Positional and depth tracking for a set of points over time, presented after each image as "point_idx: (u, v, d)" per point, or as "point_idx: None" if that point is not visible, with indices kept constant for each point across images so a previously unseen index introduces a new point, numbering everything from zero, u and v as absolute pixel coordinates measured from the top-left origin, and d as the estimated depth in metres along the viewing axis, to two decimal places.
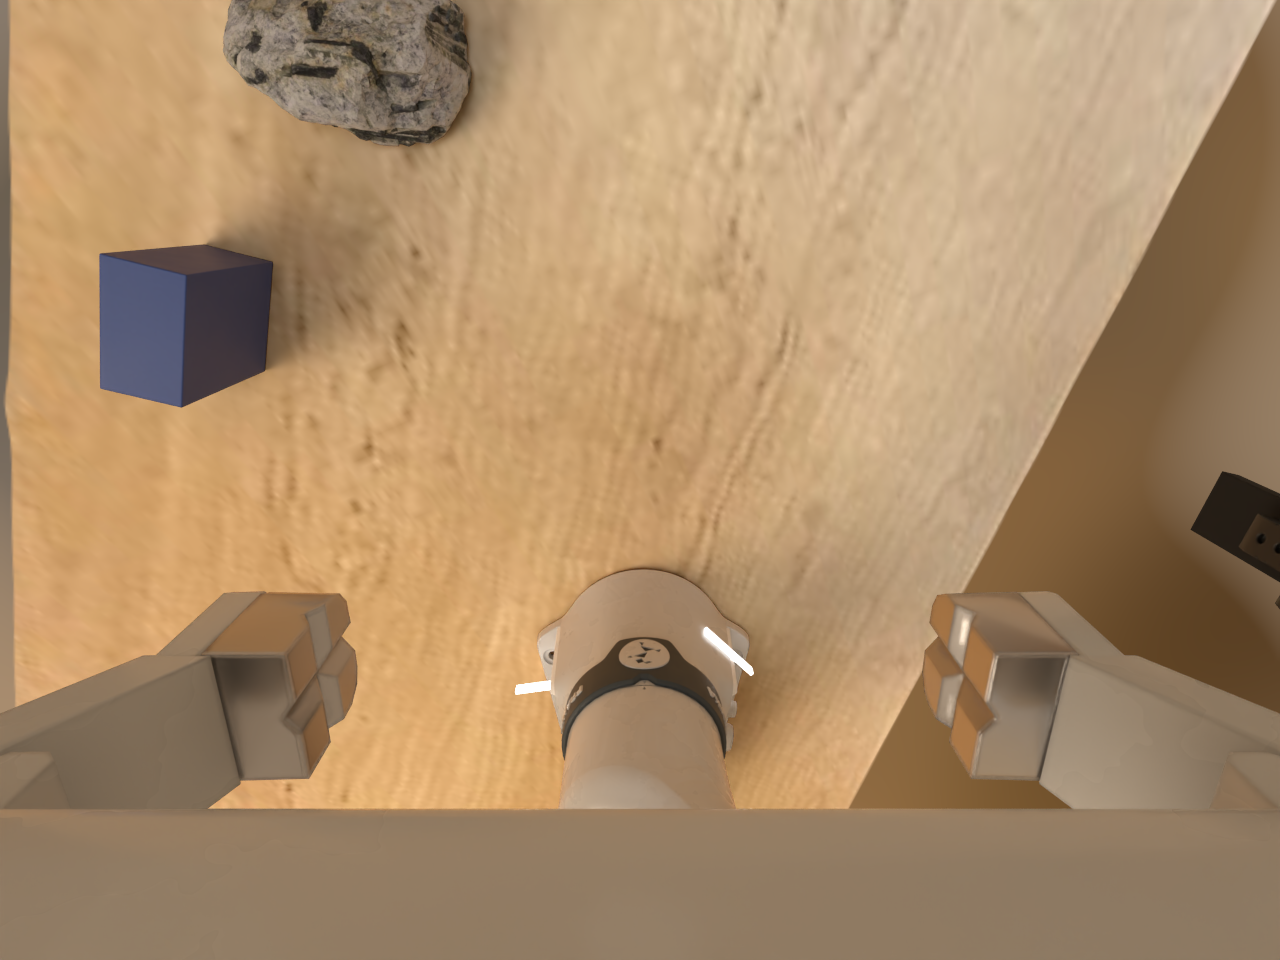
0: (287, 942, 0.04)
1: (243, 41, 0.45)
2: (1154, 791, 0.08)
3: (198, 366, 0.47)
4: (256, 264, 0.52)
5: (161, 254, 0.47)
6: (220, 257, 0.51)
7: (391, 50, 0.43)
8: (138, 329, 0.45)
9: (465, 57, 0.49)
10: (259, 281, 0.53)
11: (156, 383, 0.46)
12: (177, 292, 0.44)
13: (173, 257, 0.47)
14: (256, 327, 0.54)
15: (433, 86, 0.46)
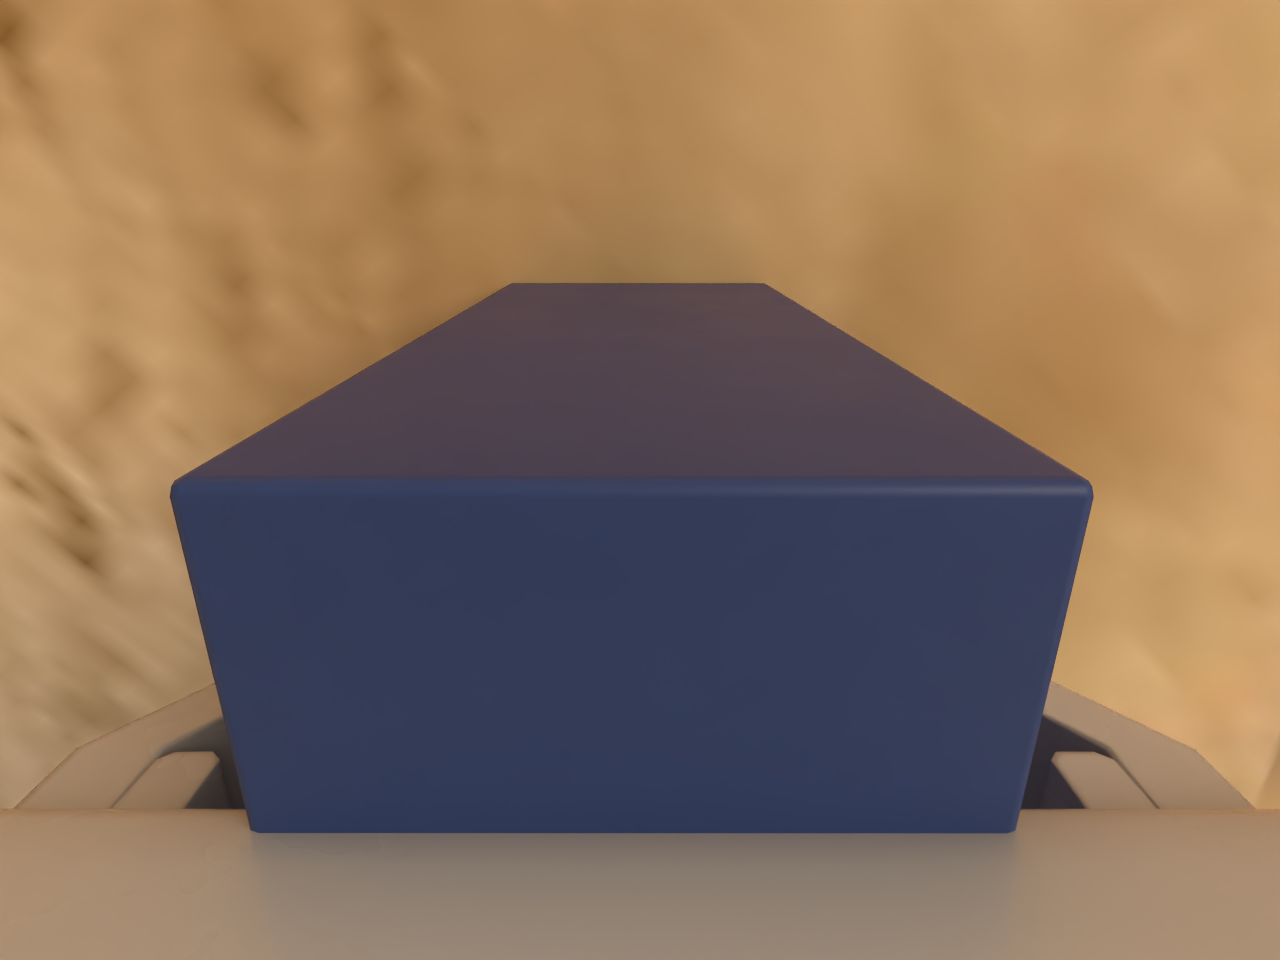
0: (287, 942, 0.04)
1: None
2: None
3: None
4: None
5: None
6: None
7: None
8: None
9: None
10: None
11: (476, 676, 0.04)
12: None
13: None
14: None
15: None
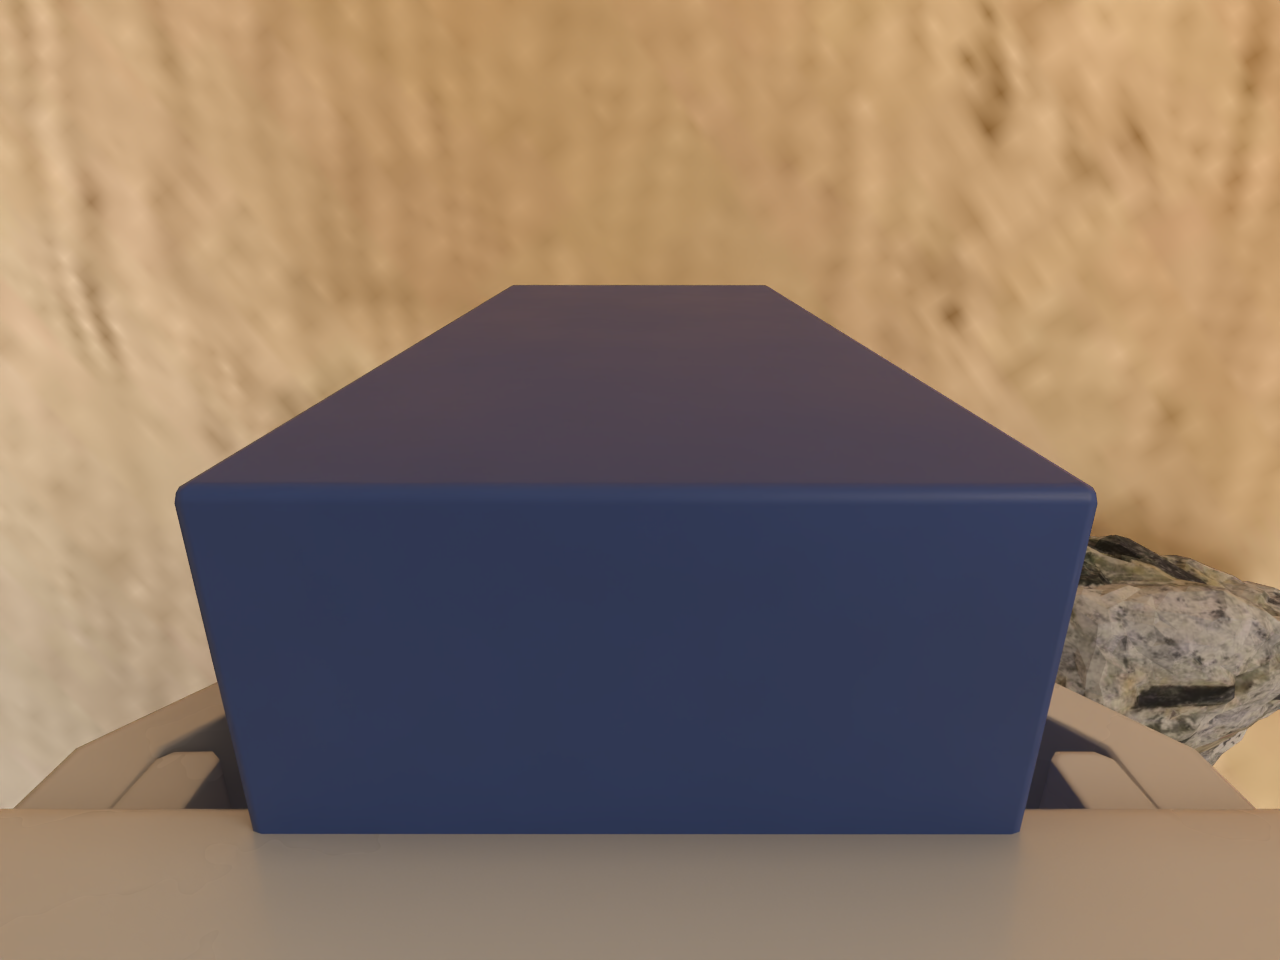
0: (287, 942, 0.04)
1: None
2: None
3: None
4: None
5: None
6: None
7: None
8: None
9: None
10: None
11: (480, 681, 0.04)
12: None
13: None
14: None
15: None
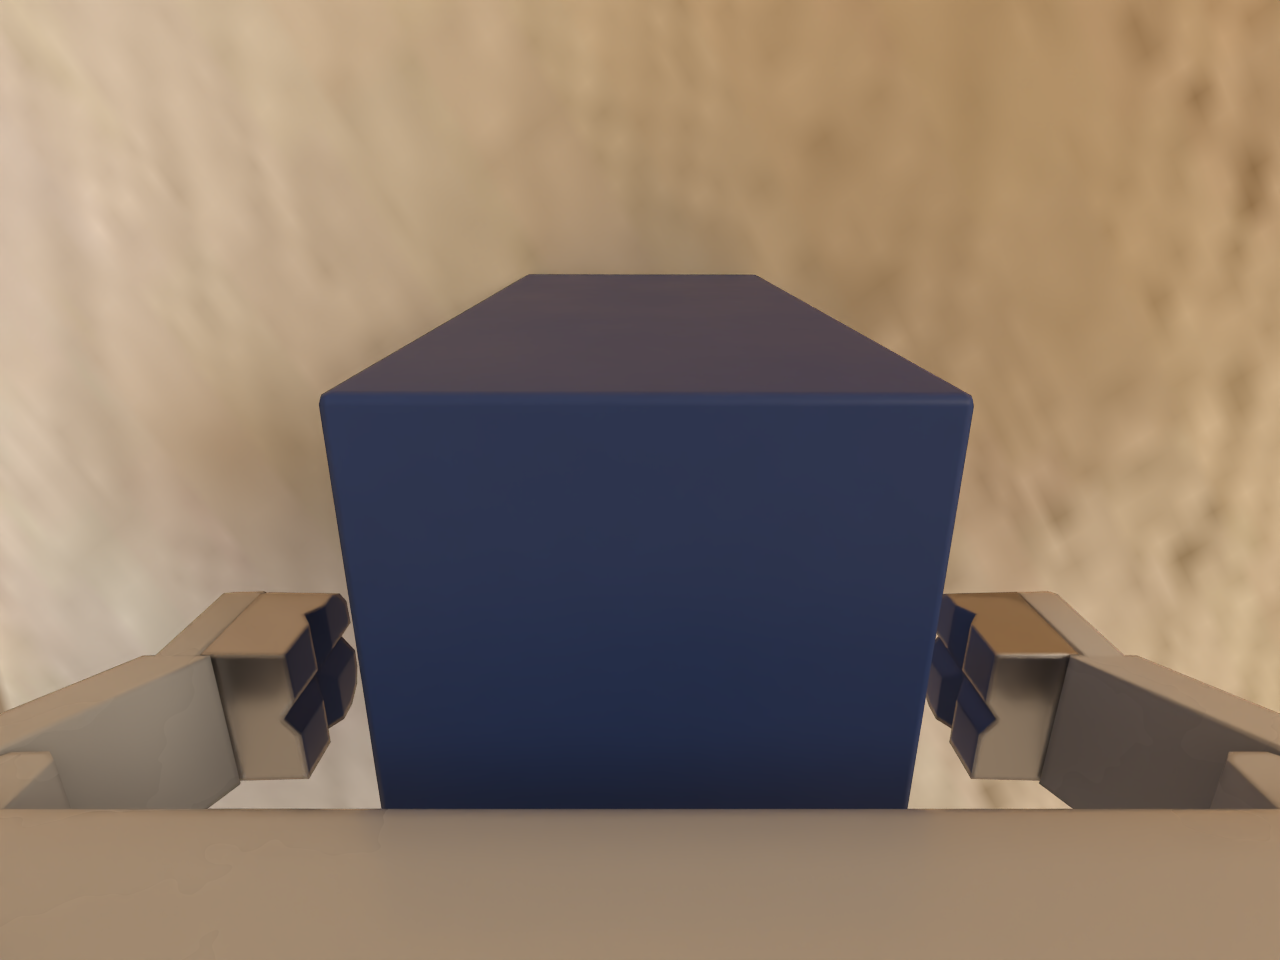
0: (287, 942, 0.04)
1: None
2: (1154, 791, 0.08)
3: None
4: None
5: None
6: None
7: None
8: None
9: None
10: None
11: (532, 542, 0.06)
12: None
13: None
14: None
15: None
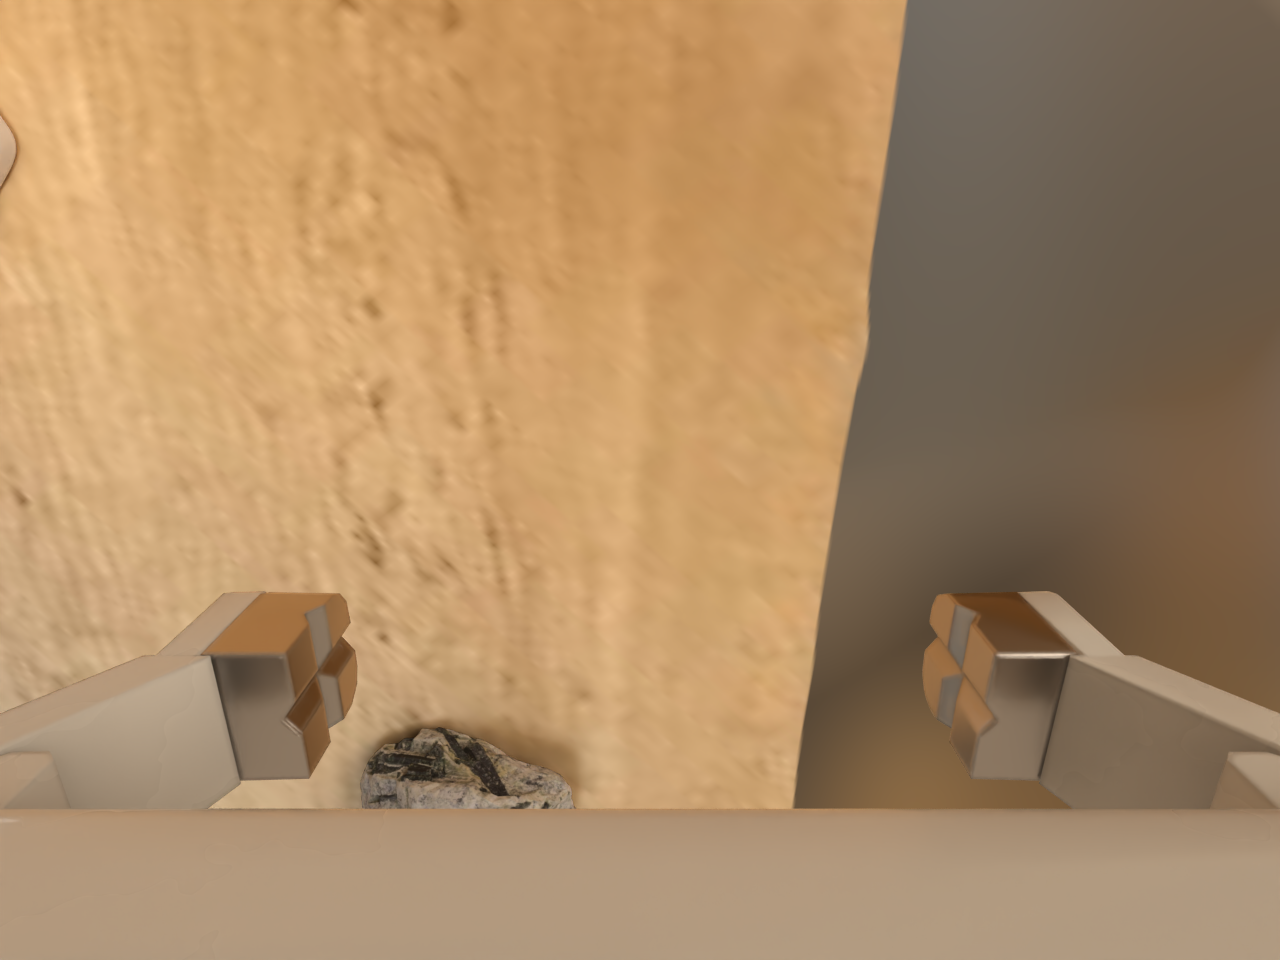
0: (287, 942, 0.04)
1: None
2: (1154, 791, 0.08)
3: None
4: None
5: None
6: None
7: None
8: None
9: None
10: None
11: None
12: None
13: None
14: None
15: None
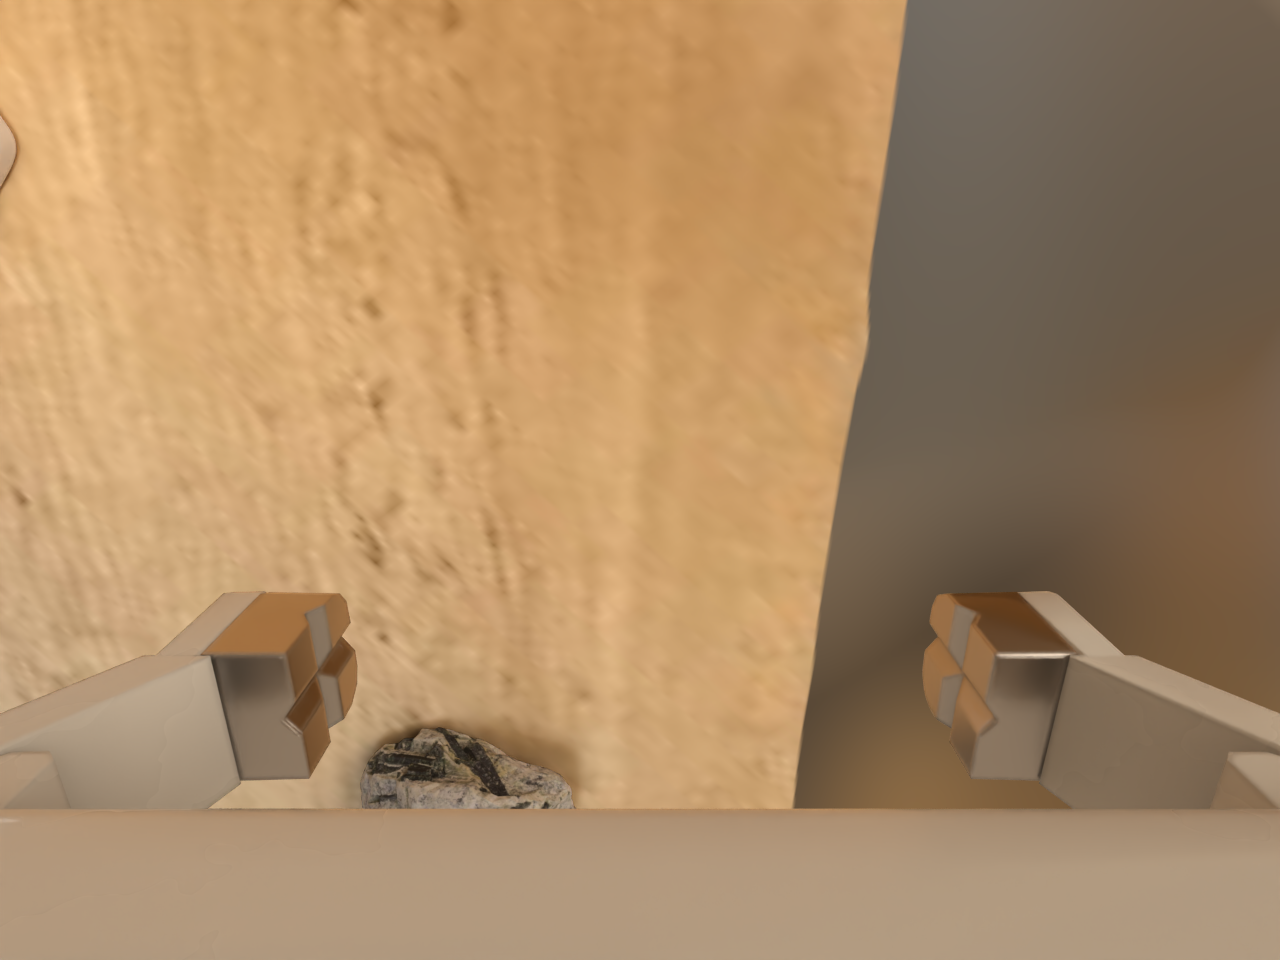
0: (287, 942, 0.04)
1: None
2: (1154, 791, 0.08)
3: None
4: None
5: None
6: None
7: None
8: None
9: None
10: None
11: None
12: None
13: None
14: None
15: None
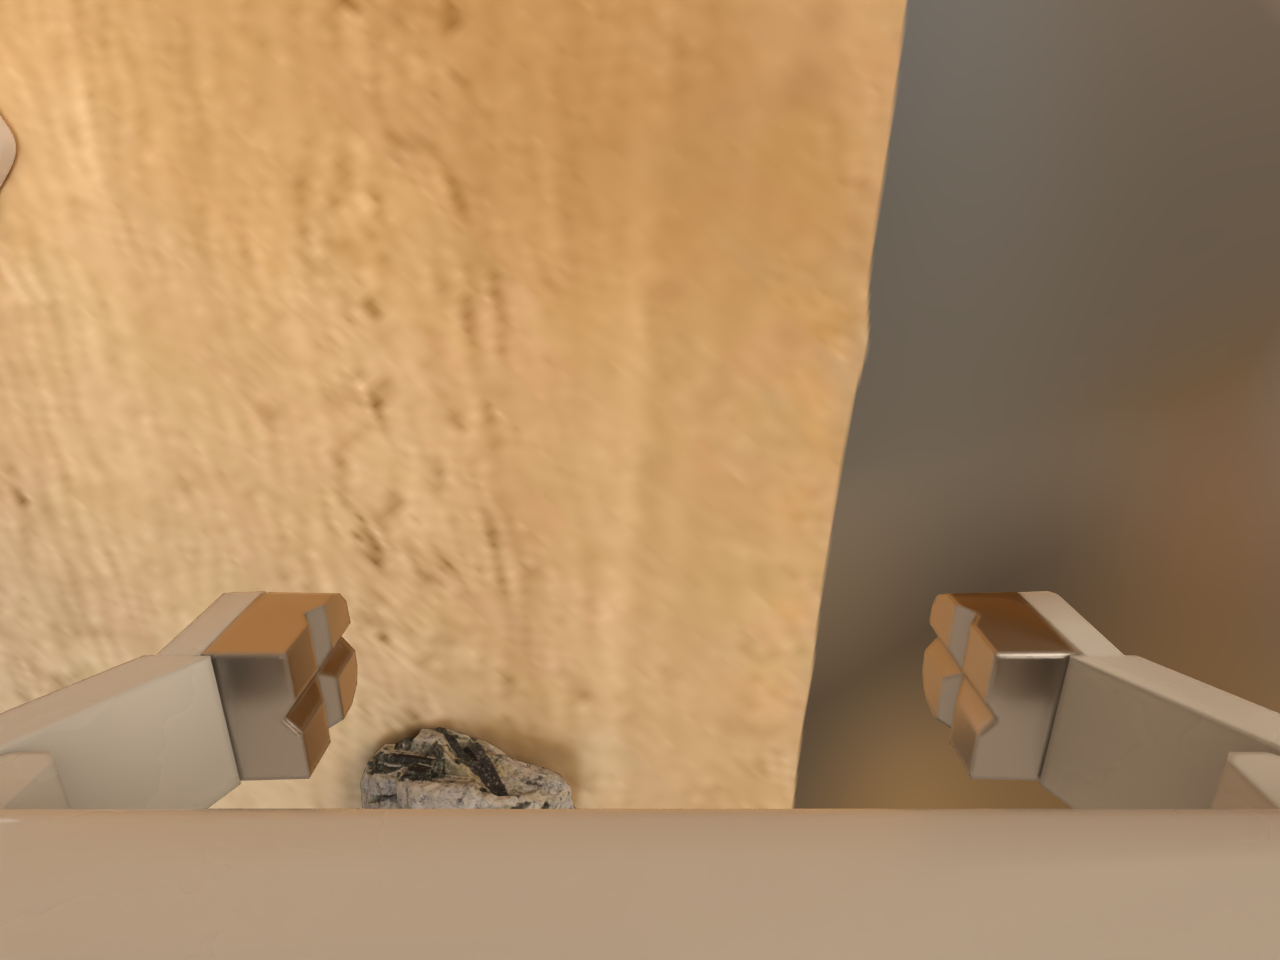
0: (287, 942, 0.04)
1: None
2: (1154, 791, 0.08)
3: None
4: None
5: None
6: None
7: None
8: None
9: None
10: None
11: None
12: None
13: None
14: None
15: None
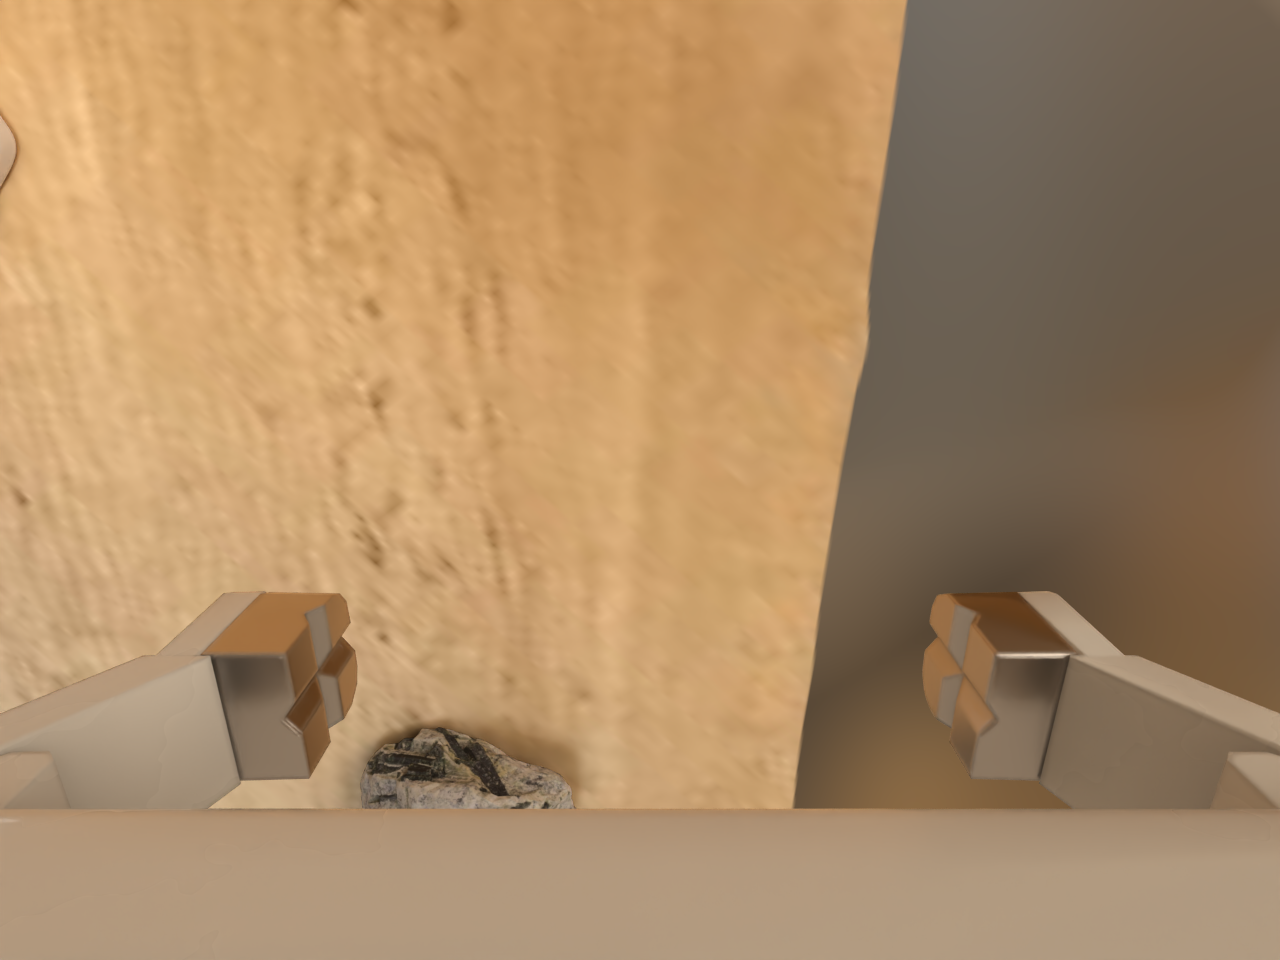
0: (287, 942, 0.04)
1: None
2: (1154, 791, 0.08)
3: None
4: None
5: None
6: None
7: None
8: None
9: None
10: None
11: None
12: None
13: None
14: None
15: None
